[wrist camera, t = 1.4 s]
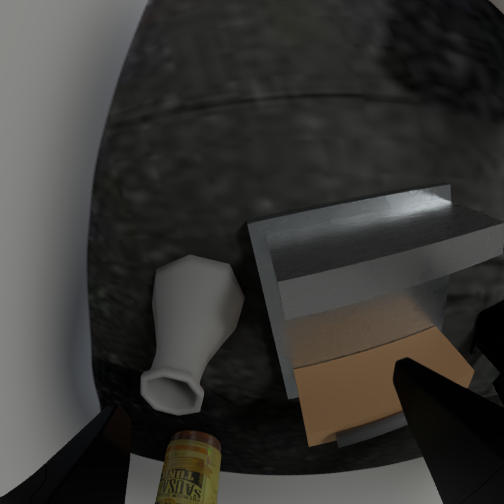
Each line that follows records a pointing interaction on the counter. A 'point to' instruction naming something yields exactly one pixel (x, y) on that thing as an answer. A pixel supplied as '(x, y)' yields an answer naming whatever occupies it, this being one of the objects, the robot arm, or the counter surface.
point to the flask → (189, 329)
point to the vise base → (353, 316)
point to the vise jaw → (369, 388)
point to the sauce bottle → (190, 469)
